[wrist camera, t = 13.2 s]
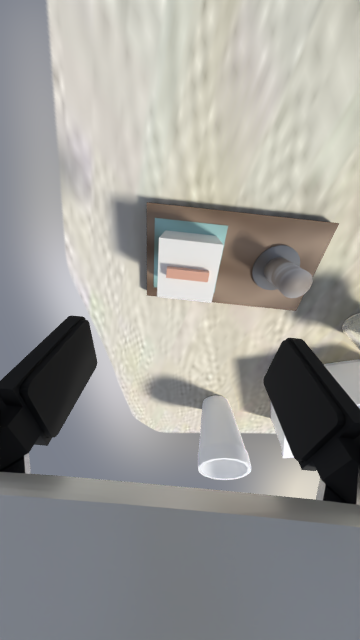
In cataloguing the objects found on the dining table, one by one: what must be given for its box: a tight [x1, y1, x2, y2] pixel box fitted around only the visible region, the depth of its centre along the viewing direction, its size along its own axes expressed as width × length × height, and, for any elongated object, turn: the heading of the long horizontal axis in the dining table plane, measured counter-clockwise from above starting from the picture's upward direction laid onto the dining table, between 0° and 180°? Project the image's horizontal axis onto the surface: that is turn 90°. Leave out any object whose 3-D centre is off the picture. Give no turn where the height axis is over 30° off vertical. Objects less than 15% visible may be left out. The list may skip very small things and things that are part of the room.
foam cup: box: [198, 395, 251, 480], centre depth 39 cm, size 10×9×13 cm
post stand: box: [147, 202, 339, 311], centre depth 23 cm, size 12×23×8 cm, turn 85°
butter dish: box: [271, 359, 360, 458], centre depth 34 cm, size 18×18×16 cm
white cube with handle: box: [157, 230, 224, 303], centre depth 22 cm, size 6×6×7 cm
